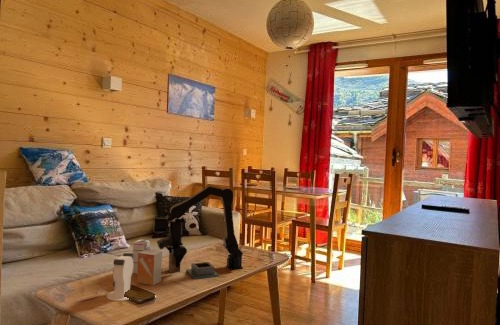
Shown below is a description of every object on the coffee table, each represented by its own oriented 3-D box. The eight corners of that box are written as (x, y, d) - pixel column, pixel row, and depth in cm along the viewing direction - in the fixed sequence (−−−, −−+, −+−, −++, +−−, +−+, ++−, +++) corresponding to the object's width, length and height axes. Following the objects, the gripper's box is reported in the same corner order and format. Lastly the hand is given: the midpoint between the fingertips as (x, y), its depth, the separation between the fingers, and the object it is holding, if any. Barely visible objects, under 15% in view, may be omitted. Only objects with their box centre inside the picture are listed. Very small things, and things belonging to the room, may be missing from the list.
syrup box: (143, 274, 166) (144, 242, 166) (131, 273, 167) (132, 241, 167) (149, 270, 171) (150, 240, 171) (138, 269, 172) (139, 238, 172)
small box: (136, 283, 154) (137, 252, 154) (145, 278, 160) (146, 249, 160) (153, 285, 152) (154, 254, 152) (161, 281, 158) (162, 251, 158)
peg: (177, 268, 176) (178, 252, 176) (180, 271, 172) (180, 254, 172) (168, 269, 174) (169, 253, 174) (170, 272, 170) (171, 255, 170)
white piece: (114, 288, 147) (115, 251, 147) (142, 290, 147) (143, 252, 147) (101, 300, 135) (102, 259, 135) (131, 301, 135) (133, 261, 135)
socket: (210, 268, 178) (210, 260, 178) (219, 276, 167) (219, 267, 167) (186, 271, 173) (186, 262, 172) (193, 279, 162) (194, 270, 162)
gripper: (154, 228, 178) (153, 260, 178) (163, 237, 161) (161, 272, 161) (177, 227, 183) (176, 258, 183) (187, 235, 166) (186, 269, 166)
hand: (174, 264), depth 173 cm, fingers open, 9 cm apart
